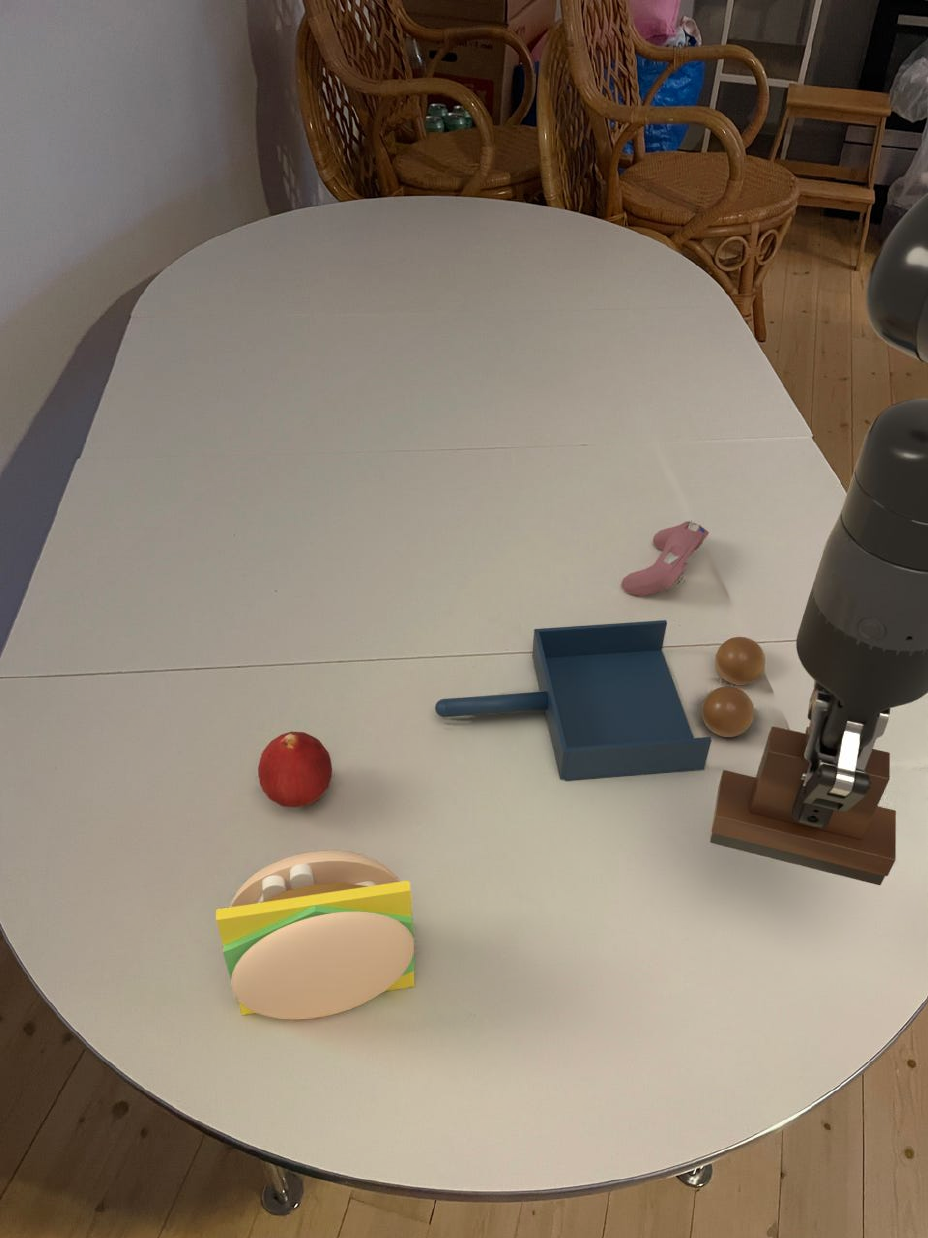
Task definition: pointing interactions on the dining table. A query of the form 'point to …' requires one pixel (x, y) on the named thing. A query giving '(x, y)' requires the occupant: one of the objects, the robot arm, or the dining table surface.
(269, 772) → the onion
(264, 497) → the dining table surface
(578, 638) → the dustpan
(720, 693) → the cork ball
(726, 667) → the brown ball
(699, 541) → the pink socks
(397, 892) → the hamburger
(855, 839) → the brush
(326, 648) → the dining table surface
